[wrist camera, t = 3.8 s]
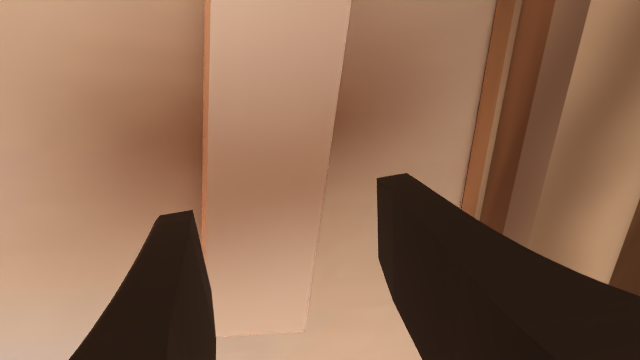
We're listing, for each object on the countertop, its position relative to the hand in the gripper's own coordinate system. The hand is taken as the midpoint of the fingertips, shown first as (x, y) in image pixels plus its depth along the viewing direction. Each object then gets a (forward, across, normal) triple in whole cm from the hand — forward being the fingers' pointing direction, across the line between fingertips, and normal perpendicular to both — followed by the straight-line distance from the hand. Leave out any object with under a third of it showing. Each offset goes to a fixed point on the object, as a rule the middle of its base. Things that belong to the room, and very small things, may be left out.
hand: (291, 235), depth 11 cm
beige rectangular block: (+7, 0, 0) cm, 7 cm away
